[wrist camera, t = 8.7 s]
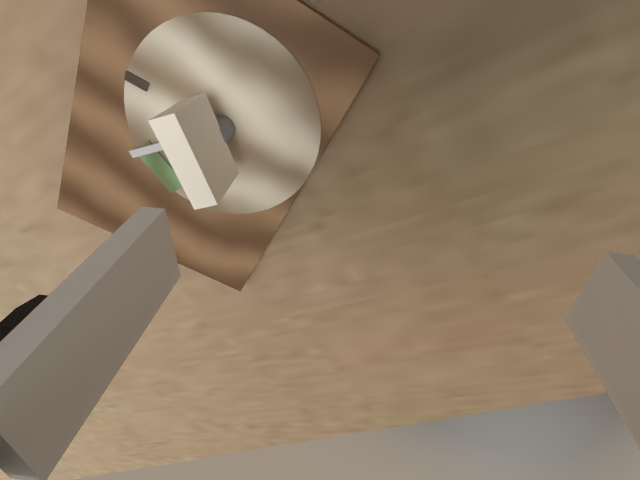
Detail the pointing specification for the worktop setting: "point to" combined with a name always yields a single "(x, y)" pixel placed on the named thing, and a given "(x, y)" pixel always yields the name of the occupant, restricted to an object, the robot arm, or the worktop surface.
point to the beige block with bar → (195, 149)
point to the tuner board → (225, 99)
